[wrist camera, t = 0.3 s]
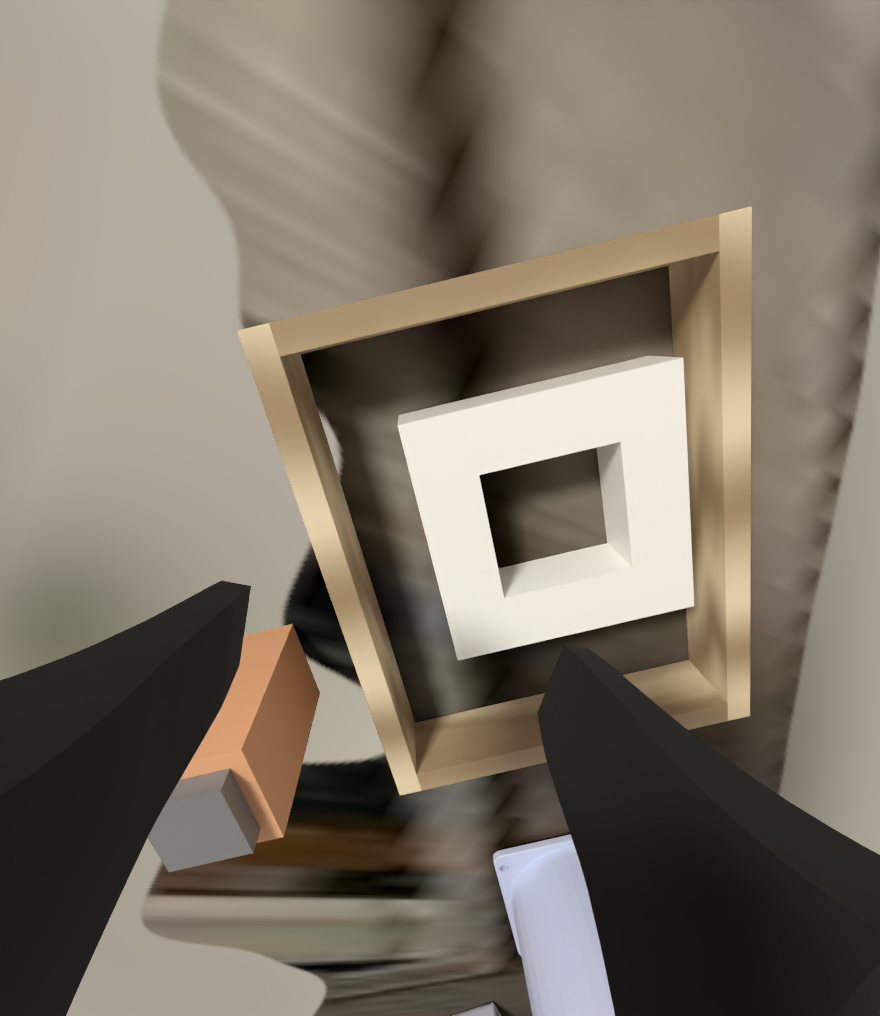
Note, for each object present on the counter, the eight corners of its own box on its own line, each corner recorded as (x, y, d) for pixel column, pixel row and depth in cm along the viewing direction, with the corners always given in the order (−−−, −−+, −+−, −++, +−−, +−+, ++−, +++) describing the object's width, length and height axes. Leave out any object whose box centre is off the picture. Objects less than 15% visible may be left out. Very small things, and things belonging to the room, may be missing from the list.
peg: (319, 693, 23) (277, 861, 15) (239, 711, 23) (158, 888, 15) (292, 623, 21) (232, 772, 14) (207, 644, 21) (102, 801, 14)
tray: (709, 671, 24) (750, 715, 21) (400, 741, 24) (399, 795, 21) (694, 229, 17) (751, 206, 14) (265, 332, 17) (236, 330, 14)
